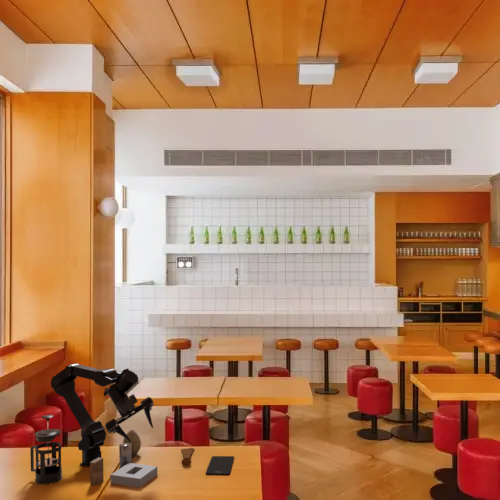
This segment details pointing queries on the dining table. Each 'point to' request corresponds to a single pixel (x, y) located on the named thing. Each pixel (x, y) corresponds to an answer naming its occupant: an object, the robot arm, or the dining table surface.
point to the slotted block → (134, 475)
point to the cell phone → (220, 465)
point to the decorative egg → (133, 441)
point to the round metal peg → (125, 454)
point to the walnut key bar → (96, 471)
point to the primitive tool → (187, 456)
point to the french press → (48, 465)
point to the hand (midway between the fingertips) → (141, 434)
